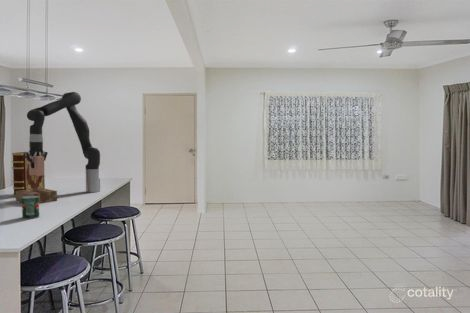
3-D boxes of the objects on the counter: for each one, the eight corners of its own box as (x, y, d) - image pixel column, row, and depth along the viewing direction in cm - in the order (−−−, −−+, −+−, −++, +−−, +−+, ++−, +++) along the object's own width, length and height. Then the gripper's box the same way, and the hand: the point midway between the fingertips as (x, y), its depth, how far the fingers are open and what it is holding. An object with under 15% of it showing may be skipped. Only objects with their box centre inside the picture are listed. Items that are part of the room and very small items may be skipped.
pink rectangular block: (35, 173, 235) (35, 155, 234) (44, 175, 229) (44, 156, 228) (29, 174, 231) (28, 155, 231) (38, 175, 225) (37, 156, 225)
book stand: (40, 197, 244) (40, 187, 243) (57, 200, 232) (56, 190, 232) (15, 200, 230) (15, 190, 230) (31, 204, 219) (31, 194, 219)
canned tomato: (19, 217, 188) (19, 196, 187) (35, 214, 194) (35, 194, 194) (26, 219, 183) (25, 198, 182) (42, 217, 189) (41, 196, 189)
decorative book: (21, 197, 243) (20, 153, 240) (11, 196, 244) (9, 152, 242) (45, 191, 264) (44, 151, 262) (35, 191, 266) (34, 151, 264)
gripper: (44, 141, 237) (44, 166, 238) (21, 141, 225) (22, 168, 226) (50, 141, 233) (50, 167, 234) (27, 141, 221) (28, 169, 222)
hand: (36, 167), depth 230 cm, fingers closed on pink rectangular block, 4 cm apart
